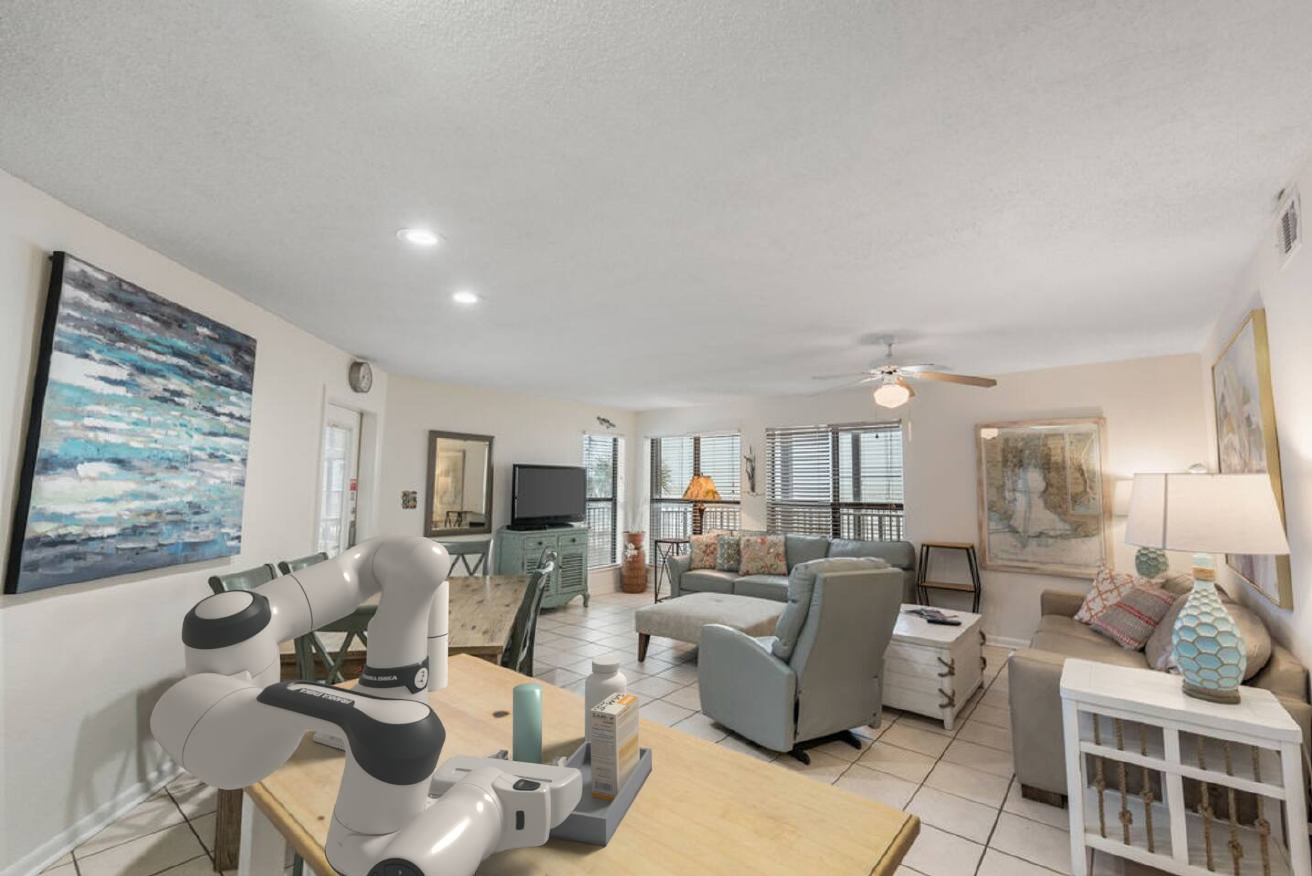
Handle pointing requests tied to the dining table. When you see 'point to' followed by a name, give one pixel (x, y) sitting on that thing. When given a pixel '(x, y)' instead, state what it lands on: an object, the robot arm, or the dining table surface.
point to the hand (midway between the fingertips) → (532, 757)
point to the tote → (600, 801)
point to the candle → (527, 723)
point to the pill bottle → (602, 685)
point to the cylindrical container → (438, 639)
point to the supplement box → (614, 744)
